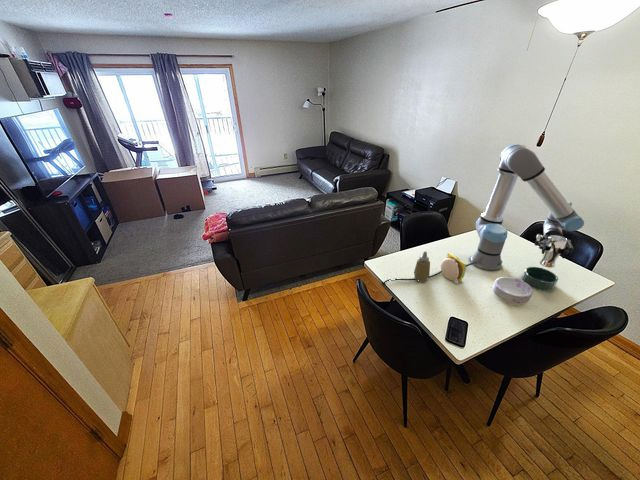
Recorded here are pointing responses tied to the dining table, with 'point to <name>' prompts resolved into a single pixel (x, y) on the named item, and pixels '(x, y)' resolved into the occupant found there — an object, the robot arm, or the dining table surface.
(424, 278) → the squeeze bottle
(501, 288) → the lavender bowl
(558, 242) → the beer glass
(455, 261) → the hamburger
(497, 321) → the dining table surface
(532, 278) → the glazed bowl
